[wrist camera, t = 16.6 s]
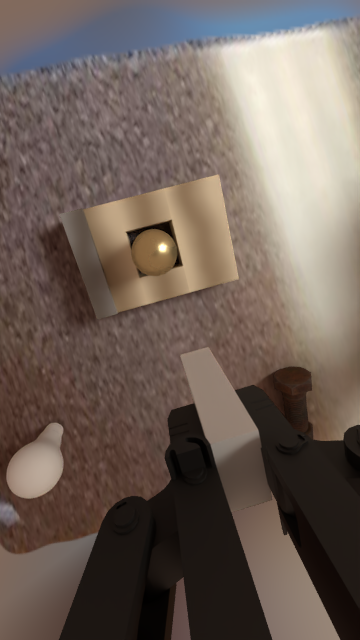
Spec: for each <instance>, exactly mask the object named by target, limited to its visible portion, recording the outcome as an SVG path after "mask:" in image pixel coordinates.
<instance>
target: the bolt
mask: <svg viewBox="0 0 360 640" xmlns="http://www.w3.org/2000/svg"><path fill="white" fill-rule="evenodd" d="M274 388H275V389H276V390H279V391H282V394H283V399H284V408H285V416H286V420H287V421H288V422H289V423H290V425H291V426H292V427H293V428H294V429H295V430H298V431H301V432H303V433H305V434H306V435H307V436H309V437H310V438H311V439H312V440H313V427H312V424H311V423H310V422H308V417H307V407H306V392H308V391H311V390H312V381H311V372H309V371H308V370H306V369H304V368H301V367H287V368H283V369H280V370H278V371H276V372H275V375H274Z"/></svg>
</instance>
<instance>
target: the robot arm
mask: <svg viewBox="0 0 360 640" xmlns="http://www.w3.org/2000/svg"><path fill="white" fill-rule="evenodd" d="M180 356H181V360H182V363H183V367H184V370H185V374H186V378H187V381H188V385H189V389H190V392H191V396H192V399H193V403H194V404H190V405H187V406H183V407H180V408H177V409H173V410H171V412H170V415H169V417H168V427H169V435H170V443H171V444H170V445H169V447H168V448H167V450H166V453H165V461H166V464H167V467H168V470H169V473H170V476H171V480H170V482H169V484H168V485H167V486H166V487H165V488H164V490H162V491H161V492H160V493H158V494H157V495H156V496H154V497H152V498H151V499H149V500H148V501H146V500H145V499H143V498H142V497H138V496H131V497H127V498H124V499H122V500H120V501H119V502H117V503H116V504H115V505H114V506H113V507H112V508H111V509H110V510H109V511H108V512H107V514H106V516H105V518H104V520H103V521H102V524H101V527H100V530H99V532H98V535H97V538H96V541H95V543H94V546H93V549H92V552H91V554H90V557H89V559H88V562H87V565H86V568H85V570H84V573H83V576H82V579H81V581H80V584H79V587H78V589H77V592H76V595H75V597H74V600H73V603H72V606H71V608H70V611H69V614H68V616H67V619H66V622H65V625H64V627H63V630H62V633H61V636H60V638H59V640H171V634H172V624H173V623H172V622H173V613H174V602H175V593H176V582H178V581H179V580H180V579H181V578H183V577H184V585H185V593H186V601H187V611H188V619H189V627H190V636H191V640H272V637H271V634H270V631H269V628H268V625H267V622H266V619H265V616H264V612H263V609H262V606H261V603H260V600H259V597H258V594H257V591H256V588H255V585H254V582H253V578H252V575H251V572H250V569H249V566H248V563H247V560H246V557H245V553H244V550H243V548H242V544H241V541H240V538H239V535H238V532H237V529H236V526H235V523H234V519H233V516H232V512H235V511H238V510H242V509H245V508H248V507H251V506H254V505H258V504H261V503H264V502H267V501H270V500H272V496H271V491H272V493H273V495H274V497H275V499H276V501H277V505H278V510H279V515H280V520H281V525H282V530H283V533H284V535H287V531H288V534H289V536H290V538H291V539H292V542H293V544H294V545H295V548H296V550H297V552H298V554H299V556H300V558H301V560H302V562H303V564H304V566H305V568H306V570H307V572H308V574H309V576H310V579H311V580H312V582H313V585H314V587H315V589H316V591H317V593H318V595H319V597H320V599H321V601H322V603H323V605H324V607H325V609H326V611H327V613H328V615H329V617H330V619H331V621H332V623H333V625H334V628H335V629H336V632H337V634H338V636H339V638H340V640H360V425H356V426H354V427H351V428H349V429H348V430H347V431H346V432H345V433H344V439H343V440H341V441H317V440H312V439H311V438H310V437H309V436H307V435H306V434H305V433H303V432H301V431H298V430H295V429H294V428H293V427H292V426H291V425H290V423H289V422H288V421H287V420H286V418H285V417H284V416H283V415H282V413H281V412H280V411H279V410H278V408H277V407H276V406H275V405H274V403H273V402H272V401H271V400H270V399H269V397H268V396H267V395H266V393H265V392H264V391H263V390H262V389H260V388H258V387H256V386H254V385H251V386H248V387H245V388H241V389H238V390H234V389H233V387H232V385H231V384H230V382H229V380H228V379H227V377H226V375H225V374H224V372H223V370H222V369H221V367H220V365H219V364H218V362H217V361H216V359H215V357H214V356H213V354H212V352H211V351H210V349H209V347H206V348H203V349H199V350H196V351H192V352H189V353H185V354H182V355H180ZM270 489H271V490H270Z"/></svg>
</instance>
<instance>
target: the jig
mask: <svg viewBox="0 0 360 640" xmlns="http://www.w3.org/2000/svg"><path fill="white" fill-rule="evenodd" d="M59 215H60V218H61V220H62V223H63V226H64V229H65V231H66V234H67V237H68V240H69V243H70V245H71V248H72V251H73V254H74V256H75V259H76V262H77V265H78V268H79V270H80V273H81V276H82V279H83V281H84V284H85V287H86V290H87V292H88V295H89V298H90V301H91V304H92V306H93V309H94V312H95V315H96V317H97V320H98V319H101V318H105V317H109V316H112V315H116V314H117V313H118V312H121V311H125V310H129V309H132V308H136V307H139V306H143V305H147V304H150V303H154V302H157V301H161V300H165V299H168V298H172V297H175V296H179V295H183V294H186V293H190V292H193V291H197V290H201V289H204V288H208V287H212V286H215V285H219V284H222V283H226V282H230V281H233V280H237V279H239V278H238V272H237V267H236V262H235V257H234V252H233V246H232V241H231V236H230V231H229V225H228V220H227V215H226V210H225V204H224V199H223V194H222V189H221V184H220V178H219V175H215V176H211V177H207V178H203V179H199V180H195V181H191V182H188V183H184V184H180V185H176V186H172V187H168V188H164V189H161V190H157V191H153V192H149V193H145V194H141V195H137V196H133V197H130V198H126V199H122V200H118V201H114V202H110V203H106V204H103V205H99V206H95V207H91V208H87V209H78V210H74V211H71V212H67V213H63V214H59ZM167 222H169V225H170V228H171V232H172V236H173V240H174V242H175V244H176V248H177V256H178V260H179V264H176V265H174V266H173V267H172V269H171V270H170V271H168V272H167V273H165V274H163V275H160V276H149V275H146V274H144V273H143V274H140V273H139V269H138V268H137V267H136V266H135V264H134V262H133V260H132V255H131V249H132V246H131V242H130V239H129V236H128V233H129V232H132V231H136V230H140V229H144V228H148V227H151V226H155V225H159V224H163V223H167Z"/></svg>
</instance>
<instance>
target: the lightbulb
mask: <svg viewBox="0 0 360 640" xmlns="http://www.w3.org/2000/svg"><path fill="white" fill-rule="evenodd" d="M62 434H63V427H62V426H61V425H60V424H58V423H50V424H49V425H47V427H46V428H45V429H44V431H43V432H42V433H41V434H40V435H39V436H38V438H37V439H36V440H35V441H34V442H31V443H29V444H27V445H25V446H24V447H22V448H21V449H20V450H19V451H18V452H16V453H15V454H14V456H13V457H12V459H11V460H10V462H9V465H8V468H7V475H6V479H7V483H8V486H9V488H10V489H11V491H12V492H13V493H14V494H15V495H17V496H19V497H22V498H36V497H39V496H41V495H43V494H45V493H47V492H48V491H50V490H51V489H52V488H53V487H54V486H55V485H56V483H57V482H58V480H59V479H60V476H61V474H62V471H63V457H62V453H61V451H60V445H61V441H62V440H61V437H62Z"/></svg>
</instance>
